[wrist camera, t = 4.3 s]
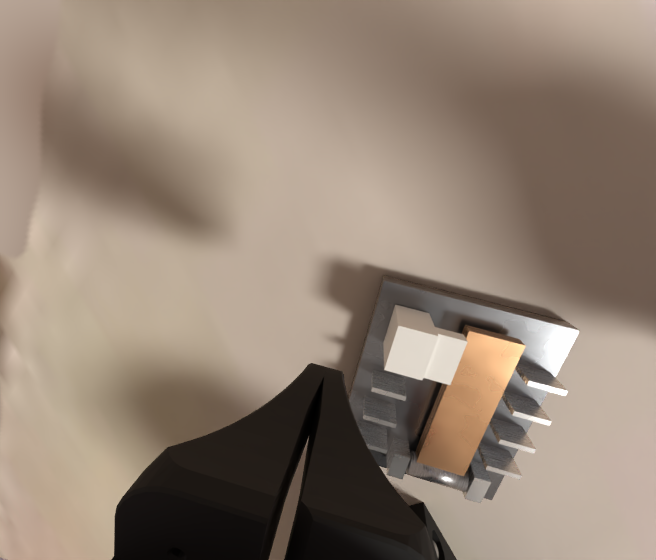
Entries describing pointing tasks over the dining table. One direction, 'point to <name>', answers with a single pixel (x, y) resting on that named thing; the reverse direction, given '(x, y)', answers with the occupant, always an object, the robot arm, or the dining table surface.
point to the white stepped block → (421, 347)
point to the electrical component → (433, 533)
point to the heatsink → (419, 395)
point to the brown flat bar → (465, 408)
